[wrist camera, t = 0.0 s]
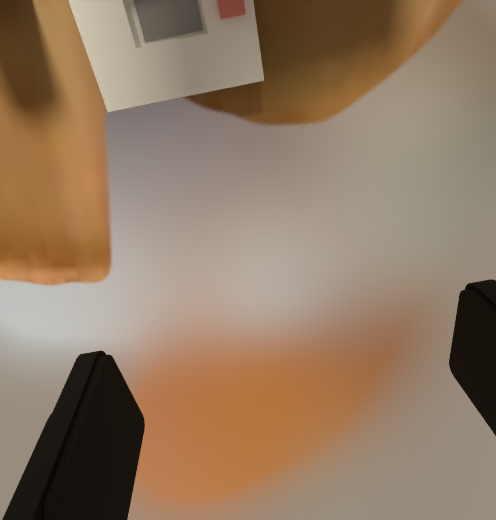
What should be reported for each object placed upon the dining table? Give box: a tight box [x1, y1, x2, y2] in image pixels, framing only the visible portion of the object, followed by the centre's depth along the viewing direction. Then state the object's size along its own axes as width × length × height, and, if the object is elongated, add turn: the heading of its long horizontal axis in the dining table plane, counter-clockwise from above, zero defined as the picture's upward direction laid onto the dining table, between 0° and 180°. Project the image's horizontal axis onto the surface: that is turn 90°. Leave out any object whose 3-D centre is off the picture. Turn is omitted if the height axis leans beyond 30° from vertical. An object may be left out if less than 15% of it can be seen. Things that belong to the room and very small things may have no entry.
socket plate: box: [68, 0, 264, 112], centre depth 29 cm, size 14×14×4 cm
